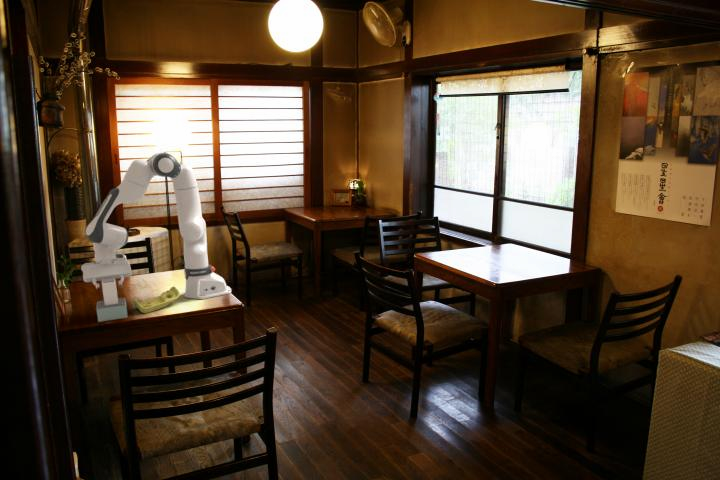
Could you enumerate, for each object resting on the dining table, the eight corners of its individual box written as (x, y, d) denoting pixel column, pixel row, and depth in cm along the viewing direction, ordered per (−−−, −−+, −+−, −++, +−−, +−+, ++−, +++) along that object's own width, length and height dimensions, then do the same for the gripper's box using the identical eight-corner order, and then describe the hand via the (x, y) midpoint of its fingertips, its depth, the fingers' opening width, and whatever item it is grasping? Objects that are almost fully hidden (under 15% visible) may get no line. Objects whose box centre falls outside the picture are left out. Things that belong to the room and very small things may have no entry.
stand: (126, 309, 273) (125, 297, 272) (127, 317, 263) (126, 304, 261) (98, 314, 269) (96, 301, 268) (98, 321, 258) (96, 308, 257)
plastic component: (143, 309, 265) (132, 296, 270) (142, 322, 269) (132, 309, 274) (183, 296, 278) (172, 284, 284) (182, 308, 282) (171, 296, 288)
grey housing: (117, 300, 268) (114, 277, 266) (118, 303, 263) (115, 280, 261) (104, 302, 266) (101, 279, 264) (104, 305, 261) (101, 282, 259)
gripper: (80, 260, 265) (83, 286, 258) (129, 254, 273) (133, 279, 267) (81, 267, 270) (84, 293, 263) (129, 261, 278) (133, 286, 271)
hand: (109, 286), depth 265 cm, fingers open, 8 cm apart
